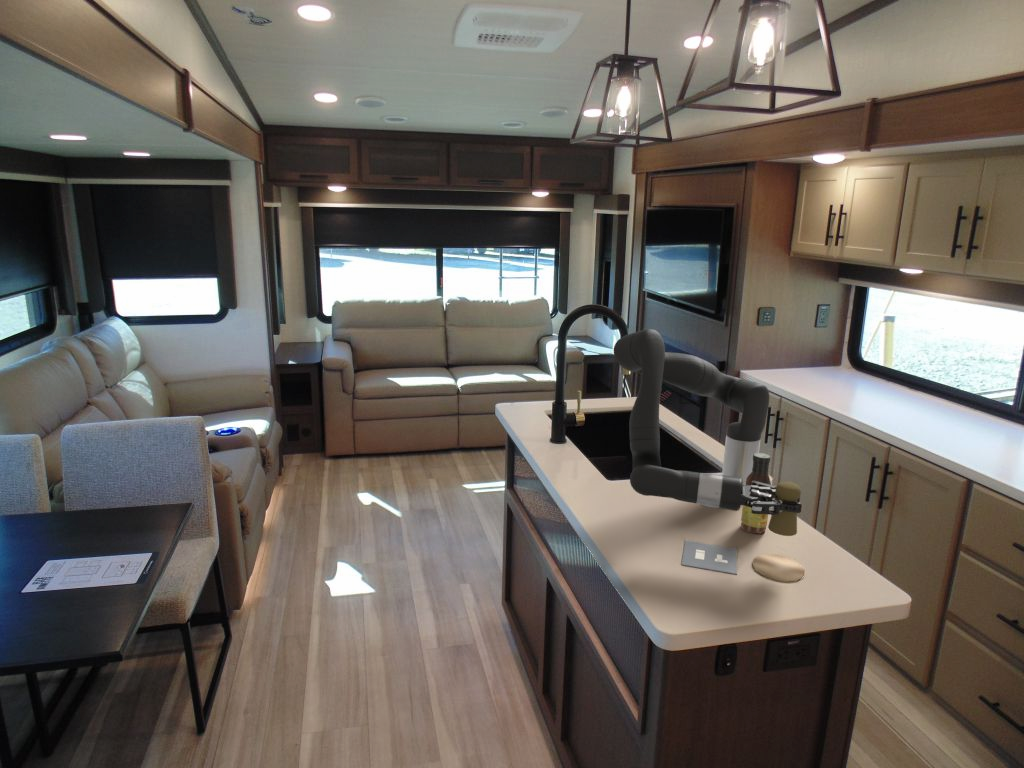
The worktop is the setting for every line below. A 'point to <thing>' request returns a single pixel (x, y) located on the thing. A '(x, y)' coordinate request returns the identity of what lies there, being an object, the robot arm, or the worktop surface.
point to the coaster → (778, 567)
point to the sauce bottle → (759, 474)
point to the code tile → (710, 557)
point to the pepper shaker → (785, 520)
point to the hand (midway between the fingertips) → (799, 503)
